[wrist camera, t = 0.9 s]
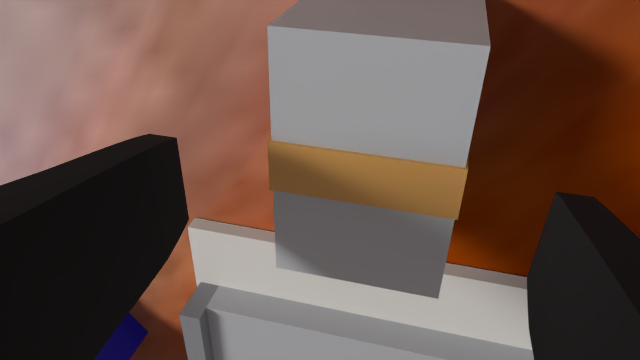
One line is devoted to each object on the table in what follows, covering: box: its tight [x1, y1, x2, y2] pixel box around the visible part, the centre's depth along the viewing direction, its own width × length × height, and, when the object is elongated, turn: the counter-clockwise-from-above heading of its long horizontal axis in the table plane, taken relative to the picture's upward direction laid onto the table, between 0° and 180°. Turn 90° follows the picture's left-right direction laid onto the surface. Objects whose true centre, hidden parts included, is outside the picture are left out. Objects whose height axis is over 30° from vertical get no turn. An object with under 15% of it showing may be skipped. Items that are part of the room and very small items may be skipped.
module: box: [267, 0, 491, 299], centre depth 12 cm, size 4×6×5 cm
